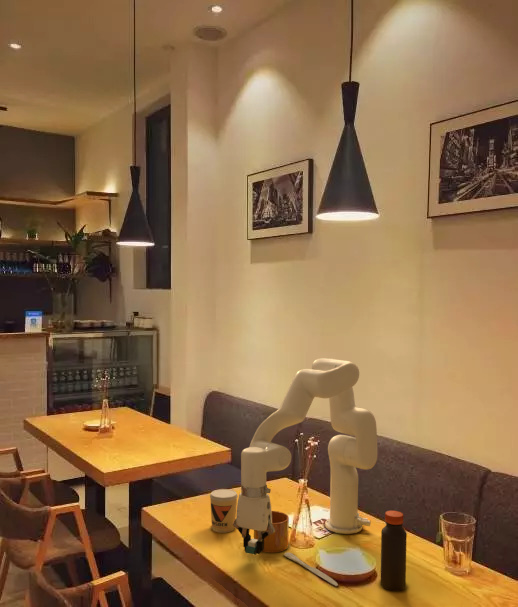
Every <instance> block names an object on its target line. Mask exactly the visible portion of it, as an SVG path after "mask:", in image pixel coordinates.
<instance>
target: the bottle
mask: <svg viewBox="0 0 518 607" xmlns="http://www.w3.org/2000/svg"><path fill="white" fill-rule="evenodd" d="M384 523H385V526H384V527H383V528H382V529H381V533H380V534H381V535H380V537H381V538H380V580H379V581H380V585H381V587H382V588H384V589H385V590H387V591H391V592H392V591H393V592H398V591H399V592H400V591H402V590H404V589H405V588H406V585H407V582H406V581H407V539H408V538H407V531H406V530H405V528H403V525H404V513H403V512H401V511H398V510H387V511H385V513H384Z"/></svg>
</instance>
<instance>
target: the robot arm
mask: <svg viewBox="0 0 518 607" xmlns="http://www.w3.org/2000/svg"><path fill="white" fill-rule="evenodd" d="M359 378H360V369H359V367H358V366H357V364H356V363H355V362H352V361H350V360H343V359H335V358H329V357H321V358H317V359H315V360H314V361H313V362H312V364H311V368H302V369H300V370H298V371H297V372H296V373H295V375H294V377H293V379H292V381H291V383H290V385H289V387H288V389H287V392H286V393H285V396H284V398H283V399H282V402H281V405H280V406H279V408H278V409H277V410H276V411H274V412H273V413H271V414H270V415H269V416H268V417H266V419H264V420H263V421H262V422H261V423H260V424H259V425H258V427H257V428H256V431H255V433H254V434H253V437H252V439H251V440H250V444H249V447H246V448H244V449H242V451H241V453H240V461H241V462H240V493H238V494H239V495H238V497H237V505H236V518H235V521H234V523H233V526H234V527H235V528H234V529H236V530H237V531H238V532H239V533H240V535H241V538H243V540H242V543H243V544H242V545H243V552H245V550H246V547H247V546H248V542H249V541H250V540H251V539H252V535H251V534H250V530H252V531H254V530H257V532H258V540H257V554H256V555H260V554H261V553H263V550H264V538H265V537H267V536H268V535H271V534H273V533H274V532H275V529H274V527H273V525H272V511H273V510H272V503H271V498H270V494H271V488H268V484H267V473H268V472H279V471H283V470H285V469H287V468H288V467H289V466H290V464H291V462H292V453H291V451H290V450H289V449H288V448H287V447H286V446H284V445H281V444H278V443H275V442H272V440H273V439H274V437H275V436H277V434H278V433H279V432H281V431H282V430H283V429H286V428H289V427H292V426H295V425H298V424H300V423H302V422H304V421H305V419H306V417H307V414H308V412H309V411H310V408H311V405H312V403H313V402H314V399H315V398H319V399H328V400H329V415H330V424H331V427H332V430H334V431H335V432H337V433H340V434H337V435H334V436H333V437H331V438H330V440H329V442H328V446H327V455H328V459H329V467H330V468H329V469H330V480H329V481H330V483H329V484H330V488H329V491H330V492H329V518H328V519H326V520H325V522H324V526H325V528H326V529H327V531H330V532H333V533H335V534H341V535H350V534H357V533H359V532H361V531H362V528H363V526H365V527H371V526H372V525H371V524H372V523H371V522H372V521H371V520H370V519H369V518H368V517H362V516H360V512H359V510H358V509H359V472H358V470H357V469H360V470H371V469H373V467H375V465H376V464H377V461H378V453H379V452H378V448H379V447H378V431H377V430H378V429H377V421H376V418H375V415H374V413H372V412H371V411H370V410H369V409H367V408H362V407H357V406H356V402H355V394H354V388H353V387H354V386H355V385H356V384H357V382H358V381H359ZM267 527H268V530H267ZM266 530H267V531H266ZM265 531H266V532H265Z"/></svg>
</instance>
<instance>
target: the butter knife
mask: <svg viewBox="0 0 518 607" xmlns="http://www.w3.org/2000/svg"><path fill="white" fill-rule="evenodd" d="M283 556H284V557H286V558H287V559H289V560H291V561H292V562H295V563H296V564H298V565H301V566H302V567H303V568H305V569H307V570H309V571H310V572H311V573H313V574H315V575H317V576H318V577H320V578H322V579H323V580H325V581H326V582H328V583H330V584H331V585H333V586H335V587H337V586H339V584H338V582H337V581H336V580H334V579H333V578H332V577H330V576H329V575H328V574H326V573H324V572H322V571H321V570H319V569H318V568H316V567H313V566H310V565H308V564H307V563H305V562H304V561H302V560H301V559H300V558H299V557H297V556H296V555H295V554H294V553H292V552H289V551H288V552H285V553H284V554H283Z"/></svg>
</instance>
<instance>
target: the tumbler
mask: <svg viewBox="0 0 518 607" xmlns="http://www.w3.org/2000/svg"><path fill="white" fill-rule="evenodd" d="M272 525H273V527H274V529H275V532H274V533H273V534H271V535H268V536H267V537H265V538H264V550H263V551H262V553H279V552H283V551H285V550H287V549H288V548H289V538H290V537H289V536H290V535H289V533H290V532H289V531H290V530H289V528H290V526H289V525H290V516H289V515H288V514H287V513H285V512H282V511H277V510H272ZM267 530H268V527H267ZM267 530H266V531H267ZM266 531H265V532H266ZM253 539H257V540H258V532H257V530H253Z"/></svg>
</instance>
